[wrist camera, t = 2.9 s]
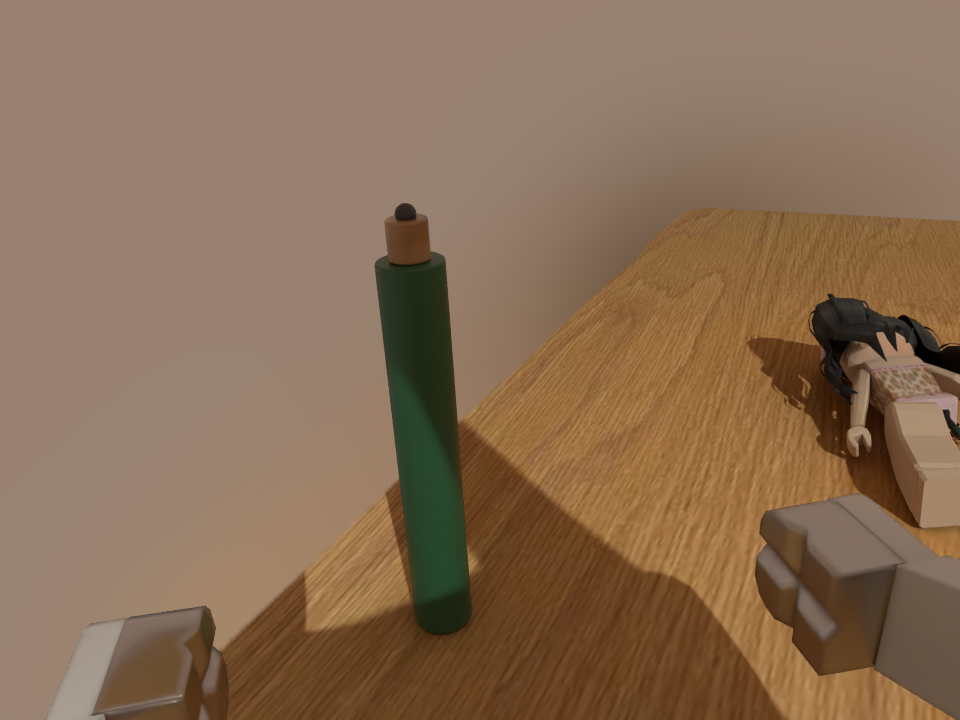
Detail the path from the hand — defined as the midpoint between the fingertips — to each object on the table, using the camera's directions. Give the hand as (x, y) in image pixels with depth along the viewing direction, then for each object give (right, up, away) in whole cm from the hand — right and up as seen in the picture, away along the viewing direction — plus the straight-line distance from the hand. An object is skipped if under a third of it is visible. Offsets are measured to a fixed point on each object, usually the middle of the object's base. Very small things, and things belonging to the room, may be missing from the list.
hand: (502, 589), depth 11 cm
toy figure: (+20, 0, +25) cm, 32 cm away
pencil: (-2, -6, +15) cm, 16 cm away
